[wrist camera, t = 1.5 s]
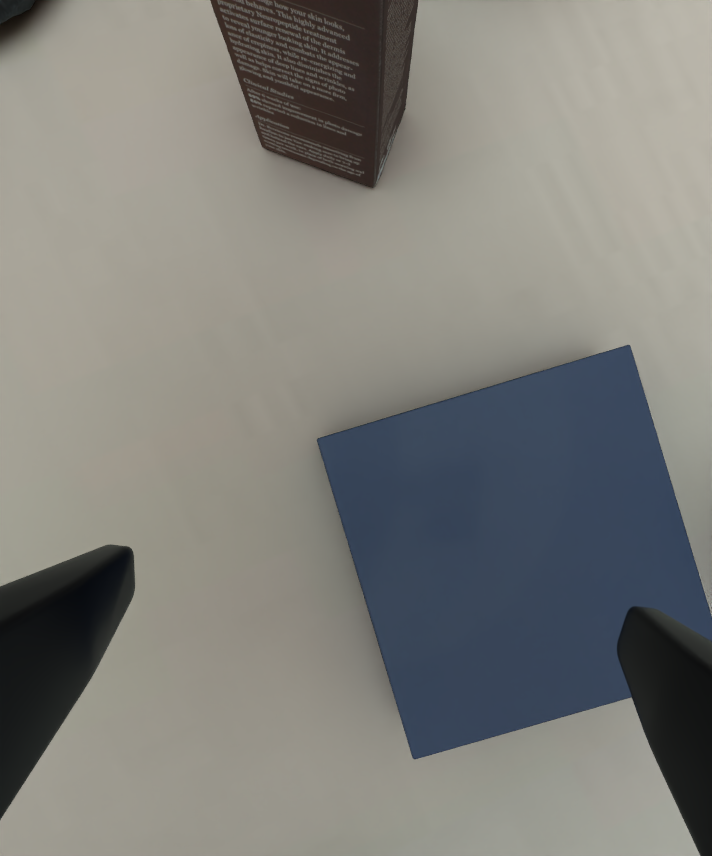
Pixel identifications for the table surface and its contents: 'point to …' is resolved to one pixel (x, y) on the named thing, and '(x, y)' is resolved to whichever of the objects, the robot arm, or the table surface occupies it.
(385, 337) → the table surface
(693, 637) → the robot arm
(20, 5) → the orca plush
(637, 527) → the blue square block
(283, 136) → the box
